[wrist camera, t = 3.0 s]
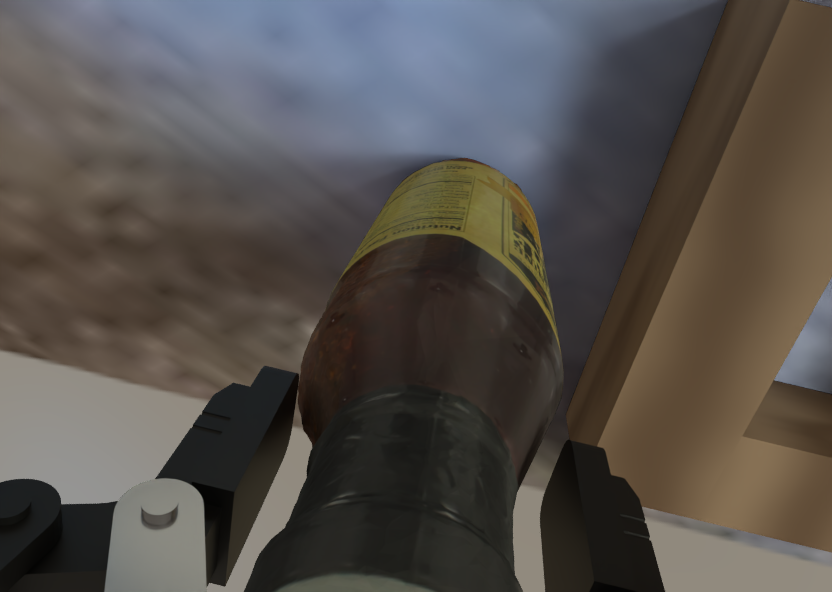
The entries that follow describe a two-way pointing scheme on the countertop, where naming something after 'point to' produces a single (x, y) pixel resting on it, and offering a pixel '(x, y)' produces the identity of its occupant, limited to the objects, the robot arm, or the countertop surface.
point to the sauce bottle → (424, 396)
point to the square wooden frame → (728, 293)
